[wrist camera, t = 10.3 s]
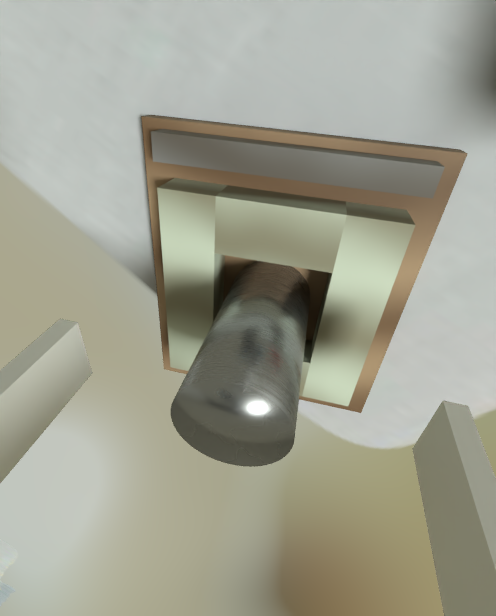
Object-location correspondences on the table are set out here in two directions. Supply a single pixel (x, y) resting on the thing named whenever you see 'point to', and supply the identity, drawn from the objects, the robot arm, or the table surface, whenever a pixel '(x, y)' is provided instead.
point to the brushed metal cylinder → (248, 370)
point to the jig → (293, 235)
